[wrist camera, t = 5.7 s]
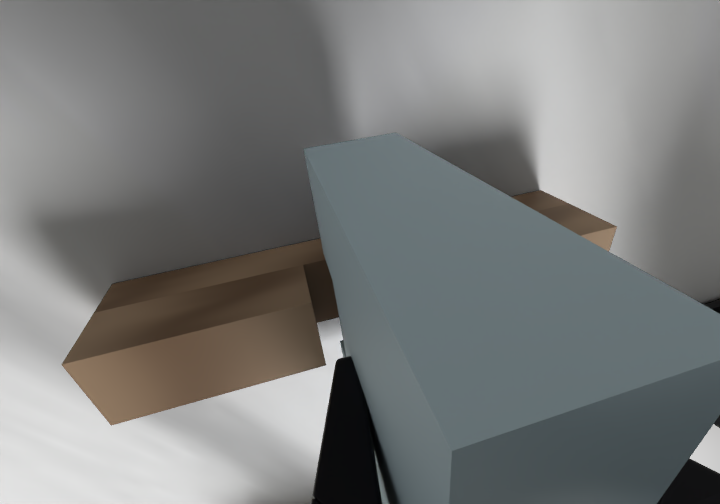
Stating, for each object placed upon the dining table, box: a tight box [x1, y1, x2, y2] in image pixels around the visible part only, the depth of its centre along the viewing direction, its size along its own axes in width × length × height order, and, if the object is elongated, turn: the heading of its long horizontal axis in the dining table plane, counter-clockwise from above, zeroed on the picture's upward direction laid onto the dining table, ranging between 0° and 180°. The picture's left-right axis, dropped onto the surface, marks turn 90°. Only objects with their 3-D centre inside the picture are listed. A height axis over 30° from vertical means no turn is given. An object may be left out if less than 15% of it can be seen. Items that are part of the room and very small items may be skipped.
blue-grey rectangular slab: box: [304, 133, 720, 504], centre depth 8 cm, size 10×2×8 cm, turn 6°
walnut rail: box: [62, 190, 617, 425], centre depth 12 cm, size 16×2×4 cm, turn 96°
